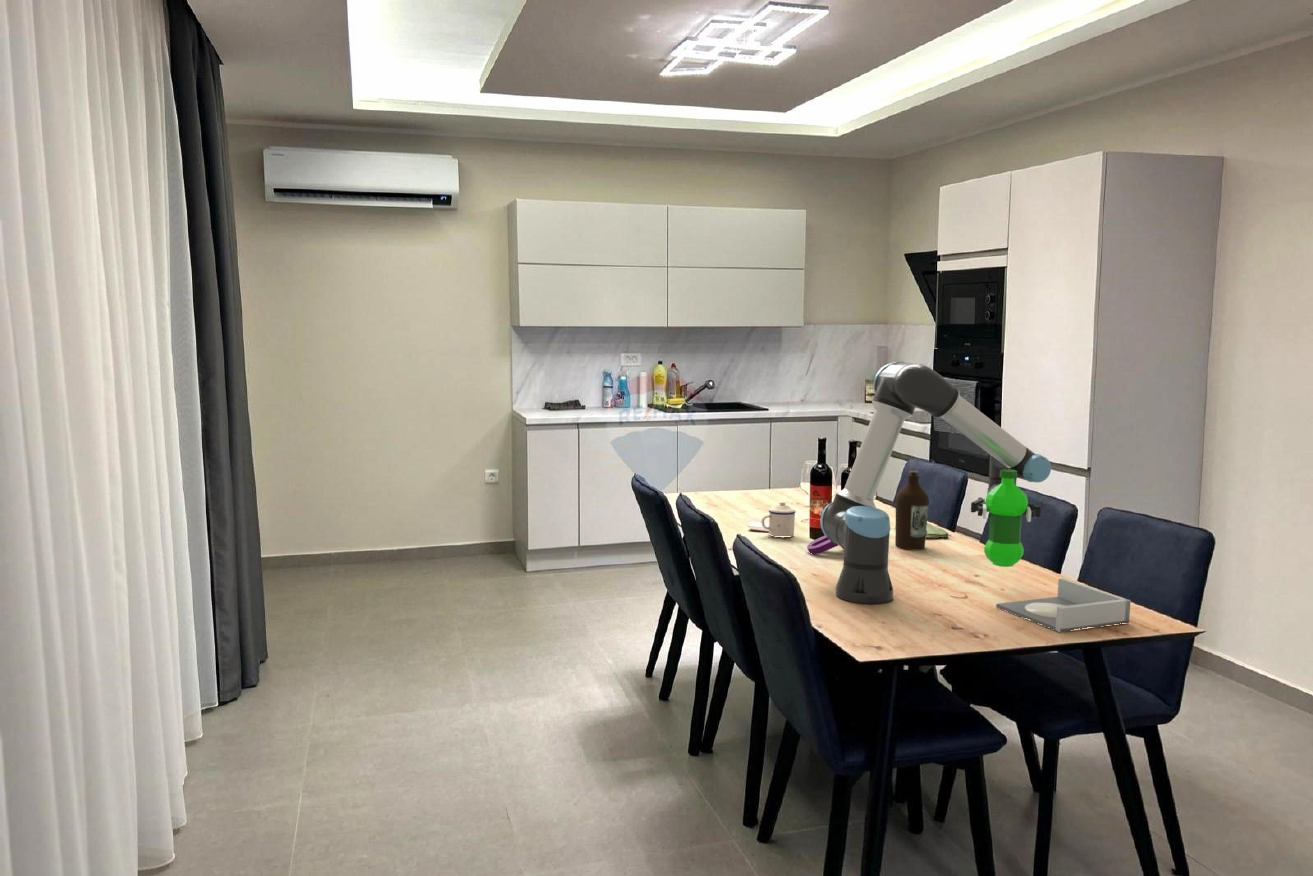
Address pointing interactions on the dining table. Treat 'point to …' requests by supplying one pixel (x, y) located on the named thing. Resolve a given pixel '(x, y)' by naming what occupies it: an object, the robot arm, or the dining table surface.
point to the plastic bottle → (1005, 521)
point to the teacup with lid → (780, 520)
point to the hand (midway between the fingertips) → (1007, 515)
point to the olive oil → (911, 514)
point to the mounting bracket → (820, 545)
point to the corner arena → (1073, 608)
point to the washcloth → (934, 532)
